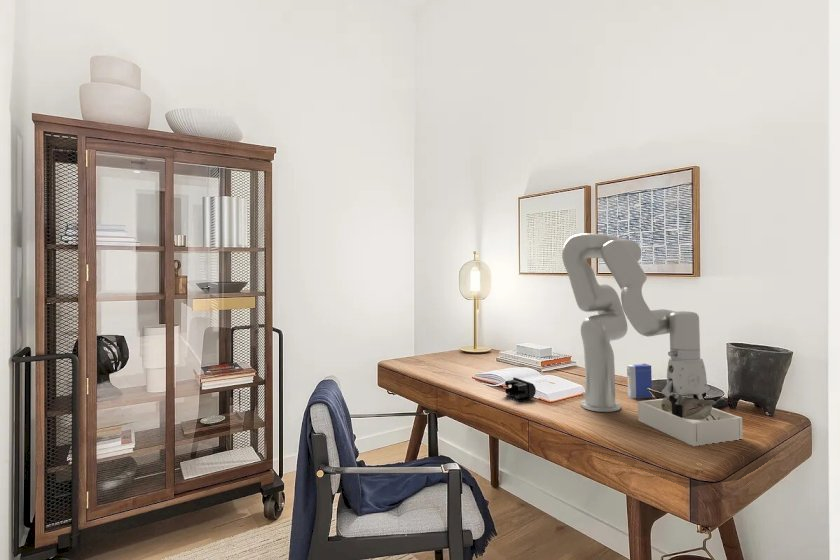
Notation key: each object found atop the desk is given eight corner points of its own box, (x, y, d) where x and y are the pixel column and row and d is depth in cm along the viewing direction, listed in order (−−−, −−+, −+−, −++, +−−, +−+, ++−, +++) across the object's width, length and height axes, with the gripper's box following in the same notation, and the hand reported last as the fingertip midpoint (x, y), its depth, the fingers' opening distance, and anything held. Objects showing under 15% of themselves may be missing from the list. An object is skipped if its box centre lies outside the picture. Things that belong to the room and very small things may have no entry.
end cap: (536, 400, 167) (535, 381, 167) (520, 402, 164) (519, 384, 164) (520, 393, 176) (519, 376, 176) (504, 396, 173) (504, 378, 173)
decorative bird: (668, 411, 139) (667, 387, 139) (723, 426, 125) (722, 399, 125) (657, 414, 137) (656, 390, 137) (712, 430, 123) (711, 402, 123)
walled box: (638, 420, 141) (637, 401, 141) (681, 415, 144) (681, 396, 144) (693, 446, 120) (693, 423, 120) (742, 439, 123) (742, 417, 123)
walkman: (648, 395, 167) (647, 363, 167) (652, 397, 164) (651, 364, 164) (626, 396, 167) (626, 363, 167) (630, 398, 164) (629, 365, 164)
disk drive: (697, 399, 163) (673, 405, 156) (697, 391, 163) (673, 397, 156) (728, 405, 154) (704, 413, 147) (728, 397, 154) (704, 404, 147)
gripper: (668, 358, 126) (670, 423, 126) (721, 354, 130) (722, 416, 130) (650, 354, 133) (651, 415, 134) (699, 350, 137) (701, 409, 137)
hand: (686, 415), depth 132 cm, fingers closed on decorative bird, 5 cm apart
